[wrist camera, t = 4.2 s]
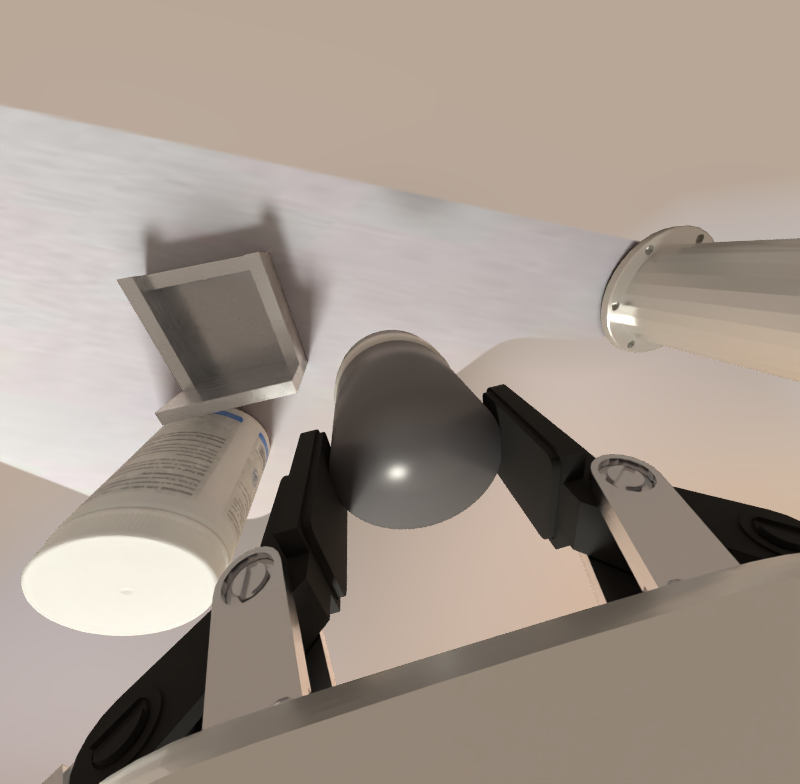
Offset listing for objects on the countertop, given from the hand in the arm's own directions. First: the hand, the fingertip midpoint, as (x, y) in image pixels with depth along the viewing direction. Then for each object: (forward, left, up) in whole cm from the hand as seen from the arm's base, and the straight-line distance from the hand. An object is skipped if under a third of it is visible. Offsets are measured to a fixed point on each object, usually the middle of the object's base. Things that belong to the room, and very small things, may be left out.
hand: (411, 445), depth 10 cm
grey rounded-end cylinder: (0, 0, -6) cm, 6 cm away
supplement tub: (+17, +8, -19) cm, 27 cm away
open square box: (+11, -3, -19) cm, 22 cm away
